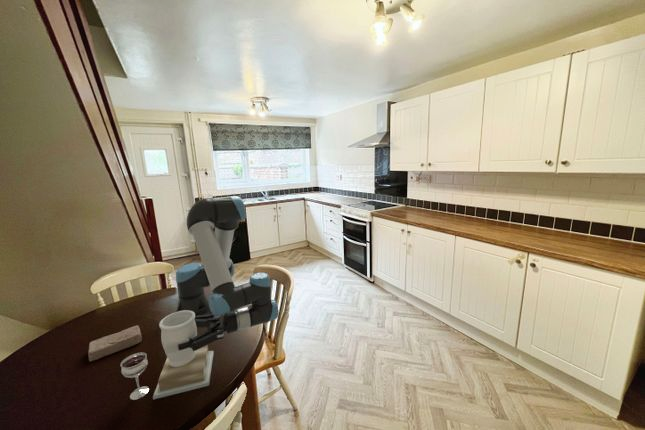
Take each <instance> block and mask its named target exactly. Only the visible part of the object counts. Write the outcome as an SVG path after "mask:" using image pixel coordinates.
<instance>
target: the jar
mask: <svg viewBox="0 0 645 430" xmlns="http://www.w3.org/2000/svg"><path fill="white" fill-rule="evenodd" d="M194 319H195V313H194V312H193V311H190V310H183V311H178V312H176V311H175V312H172V313H169V314H167V315H166V316H165V317H164V318H162V319H161V320H160V321H159V323H158V325H159V328H160V331H161V332H160V335H161V336H160V338H161V339H160V340H161V345H162V347H163V350H164V352H165V355H166V358H167V357H168V358H169V365H171V366H173V367H178V366H182V365H185V364H187V363H189V362H190V361H192V360H193V359H194V357H195V356H196V351H193V350H192V348H186V349H183V350H178V351H175V352H172V353H168V354H167V353H166V345H167V344H171V343H175V342H179V341H182V340H185V339H188V338H194V337H196V336H197V335H198V327H197V326H196V323H195V320H194ZM179 324H180V325H179ZM194 342H195V341H194Z"/></svg>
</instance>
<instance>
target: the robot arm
mask: <svg viewBox="0 0 645 430" xmlns="http://www.w3.org/2000/svg"><path fill="white" fill-rule="evenodd" d="M246 218H247V210H246V206H245V203H244V201H243V199H242V198H241V197H240V196H237V195H233V196H232V195H228V196H224V197H223V196H220V197H207V198H201V199H199V200H198V201H196V202H195V203H194V204H193V205H192V206H191V207H190V209H189V210H188V213H187V218H186V227H187V231H188V234H189V235H191V236H192V237H193V239H194V242H195V245H196V249H197V251H198V253H199V257H200V261H201V262H202V263H200V262H191V263H187V264H185V265H183V266H181V267H179V268H178V269H177V270H176V272H175V282H176V287H177V296H178V297H177V298H178V299H177V305H176V309H175V312H178V311H183V310H190V311H193V312H194V313H195V319H194V320H195V323H196V326H197V328H207V329H206V330H204V331H202V332H201V333H199V334H197V336H196V337H194V338H188V339H185V340H182V341H179V342H175V343H171V344H167V345H166V353H167V354H168V353H172V352H175V351H178V350H183V349H186V348H192V350H193V351H196V350H198V349H200V348H202V347H204V346H206V345H208V346H209V344H212V343H214V342H215V341H219V340H222V339H224V338H225V337H224V336H225V335H224V333H225V332H226V334H231V333H232V334H233V333H235V332H237V331H238V330H239V331H241V330H245V329H248V328H252V327H255V326H258V325H261V324H266V323H269V322H272V321H275V320H276V319H278V318H279V313H280V312H279V311H280V310H279V306H278V302H277V301H276V300H275V299H272V289H271V288H272V283H271V278H270V275H269V274H268V273H266V272H257V273H253V274H252V275H250V277H249V282H247V283H244V284H240V285H238V286H235V283H234V280H233V277H234V274H235V269H234V268H235V265H234V262H233V261H232V259H231V258H230V255H231V251H232V250H231V249H232V245H233V241H234V240H233V239H234V233H235V230H236V229H238V228H239V224H240V222H243V221H245V220H246ZM207 287H210V289H211V292H212V294H211V295H209V296H208V297H207V294H206V292H205V288H207ZM209 309H210V312H211V313H209V314H204V313H205V312H207V311H208V310H209ZM222 315H223V316H222ZM179 325H180V324H179ZM194 341H195V342H194ZM166 353H165V354H166Z"/></svg>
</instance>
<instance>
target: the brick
mask: <svg viewBox="0 0 645 430" xmlns="http://www.w3.org/2000/svg"><path fill="white" fill-rule="evenodd" d="M142 340H143V337H142V332H141V329H140V325H134V326H131V327H128V328H125V329H123V330H120V331H119V332H116V333H112V334H109V335H106V336H102V337H101V338H98V339H95V340H92V341H90V342H89V345H88V353H87V355H88V356H87V357H88V361H89V362H93V361H96V360H99V359H101V358H103V357H106V356H109V355H112V354H114V353H117V352H119V351H121V350H124V349H125V350H126V349H127V348H130V347H133V346H135V345H137V344H139V343H141V342H142Z"/></svg>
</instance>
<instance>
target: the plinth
mask: <svg viewBox="0 0 645 430" xmlns="http://www.w3.org/2000/svg"><path fill="white" fill-rule="evenodd" d="M209 351H210V350H209V344H208V345H206V346H204V347H202V348H200V349H198V350H196V356H195V357H194V359H193V360H192V361H190V362H189V363H187V364H185V365H182V366H178V367H173V366H171V365H169V358H168V357H167V356H166V360H165V362H164V364H163V367H162V370H161V372H160V375H159V378H158V380H157V382H158V383H159V390H160V391H164V390H168V389H172V388H176V387H180V386H184V385H188V384H192V383H197V382H201V381H204V379H205V374H206V368H207V362H208V356H209ZM158 383H157V384H158Z"/></svg>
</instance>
